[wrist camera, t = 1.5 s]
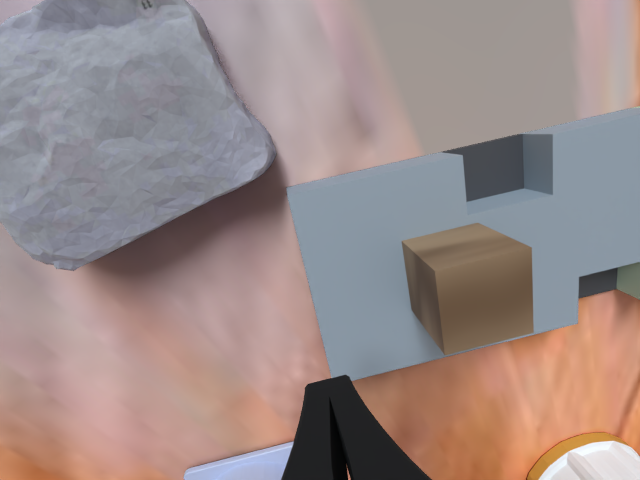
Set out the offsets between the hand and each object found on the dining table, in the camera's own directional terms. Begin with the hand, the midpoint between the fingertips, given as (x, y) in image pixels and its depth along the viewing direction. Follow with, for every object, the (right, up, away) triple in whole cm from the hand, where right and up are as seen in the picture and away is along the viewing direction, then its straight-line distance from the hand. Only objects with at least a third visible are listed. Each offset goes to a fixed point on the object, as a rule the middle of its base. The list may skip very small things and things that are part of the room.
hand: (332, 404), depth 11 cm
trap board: (+10, +5, +10) cm, 15 cm away
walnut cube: (+6, +4, +7) cm, 10 cm away
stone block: (-10, +11, +6) cm, 16 cm away
